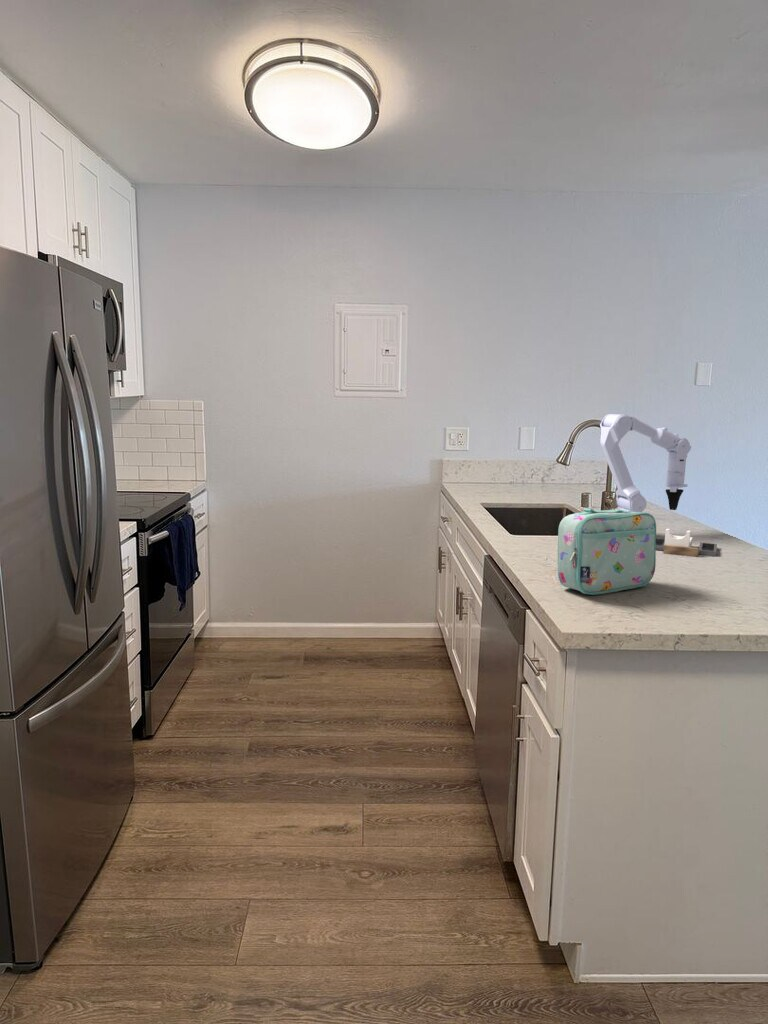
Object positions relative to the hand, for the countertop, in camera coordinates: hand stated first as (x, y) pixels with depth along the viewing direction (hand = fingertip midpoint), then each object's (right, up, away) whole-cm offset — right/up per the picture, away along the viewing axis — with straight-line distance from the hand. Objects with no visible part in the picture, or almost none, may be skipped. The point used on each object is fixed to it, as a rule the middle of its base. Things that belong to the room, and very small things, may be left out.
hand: (672, 509), depth 237 cm
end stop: (-9, -14, -26) cm, 31 cm away
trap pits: (-5, -13, -19) cm, 23 cm away
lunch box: (-45, -21, -63) cm, 81 cm away
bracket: (-7, -14, -19) cm, 25 cm away
